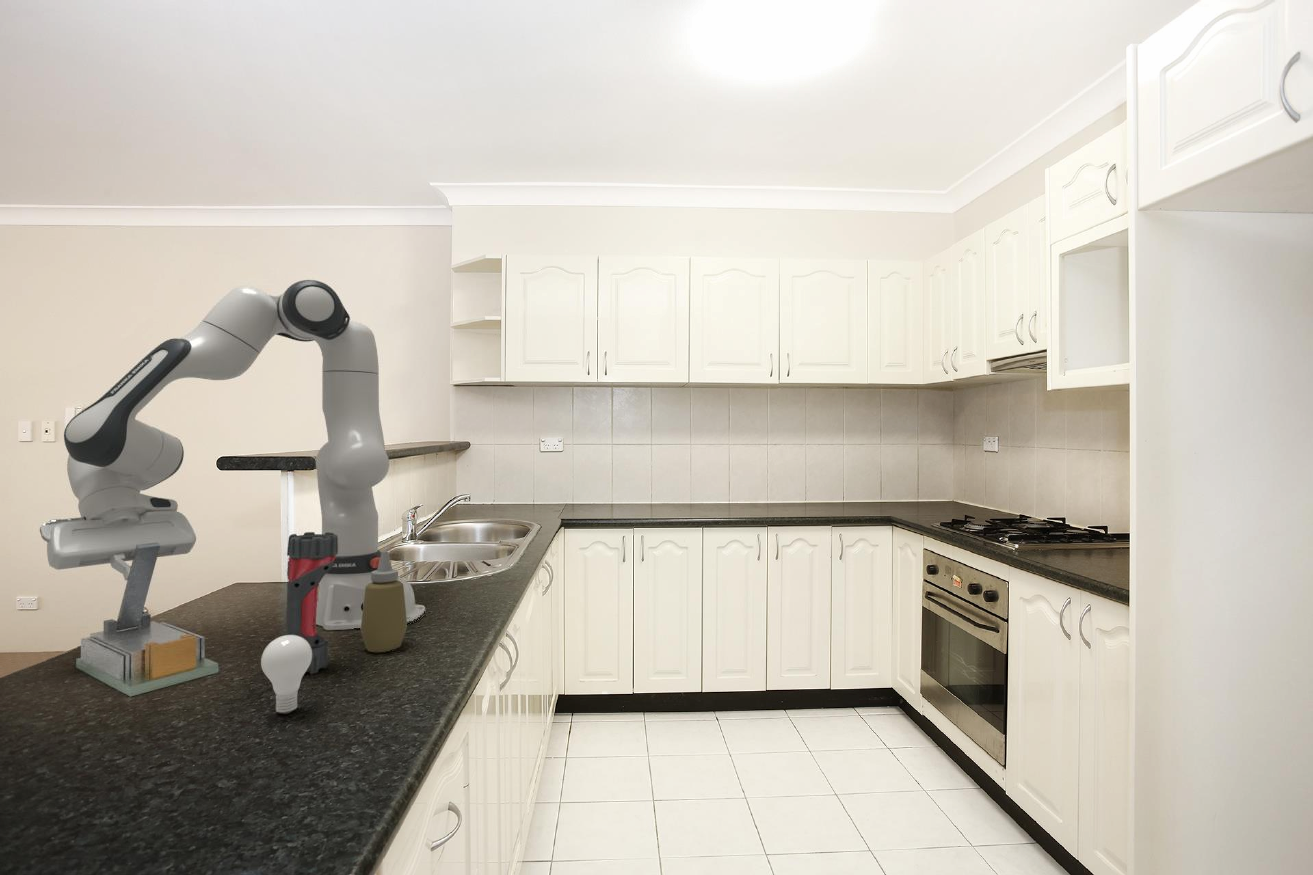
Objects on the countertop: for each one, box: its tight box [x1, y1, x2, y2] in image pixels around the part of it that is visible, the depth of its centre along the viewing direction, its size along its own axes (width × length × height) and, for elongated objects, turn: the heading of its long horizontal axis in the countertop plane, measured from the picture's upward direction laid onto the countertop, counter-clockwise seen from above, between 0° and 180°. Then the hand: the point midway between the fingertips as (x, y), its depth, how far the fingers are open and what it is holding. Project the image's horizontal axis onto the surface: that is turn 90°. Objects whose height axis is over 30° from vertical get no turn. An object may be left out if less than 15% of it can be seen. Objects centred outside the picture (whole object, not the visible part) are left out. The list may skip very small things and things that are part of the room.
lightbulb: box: [260, 634, 312, 715], centre depth 92 cm, size 6×6×11 cm
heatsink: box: [75, 612, 219, 697], centre depth 108 cm, size 22×12×8 cm, turn 58°
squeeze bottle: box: [360, 550, 408, 653], centre depth 120 cm, size 8×8×18 cm
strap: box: [116, 542, 160, 631], centre depth 110 cm, size 18×3×1 cm
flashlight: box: [283, 531, 338, 675], centre depth 109 cm, size 8×8×23 cm
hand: (137, 577), depth 110 cm, fingers closed, pressing on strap
